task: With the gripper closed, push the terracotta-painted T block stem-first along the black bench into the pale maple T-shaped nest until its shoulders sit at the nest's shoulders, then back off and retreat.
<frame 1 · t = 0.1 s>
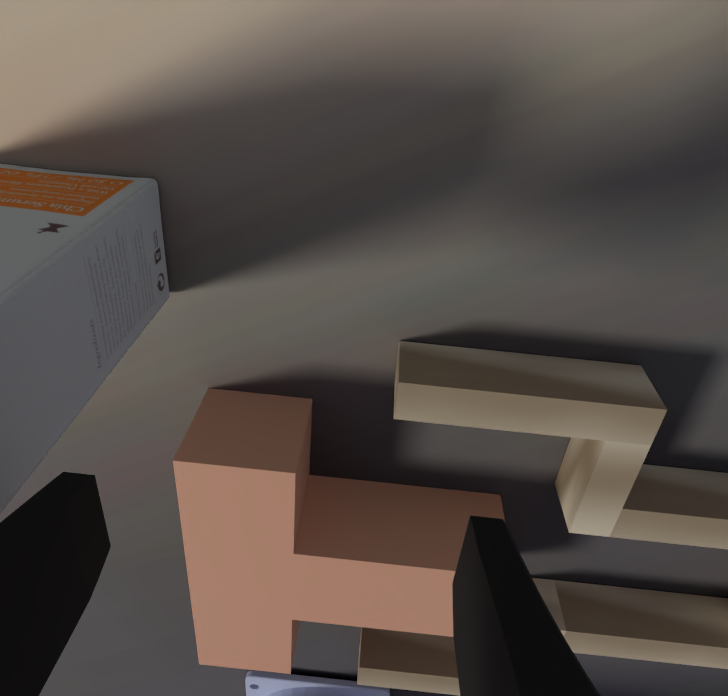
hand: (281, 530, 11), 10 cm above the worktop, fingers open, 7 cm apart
skincare box: (78, 226, 19), on the worktop
tee: (262, 502, 26), on the worktop
nest: (537, 532, 25), on the worktop
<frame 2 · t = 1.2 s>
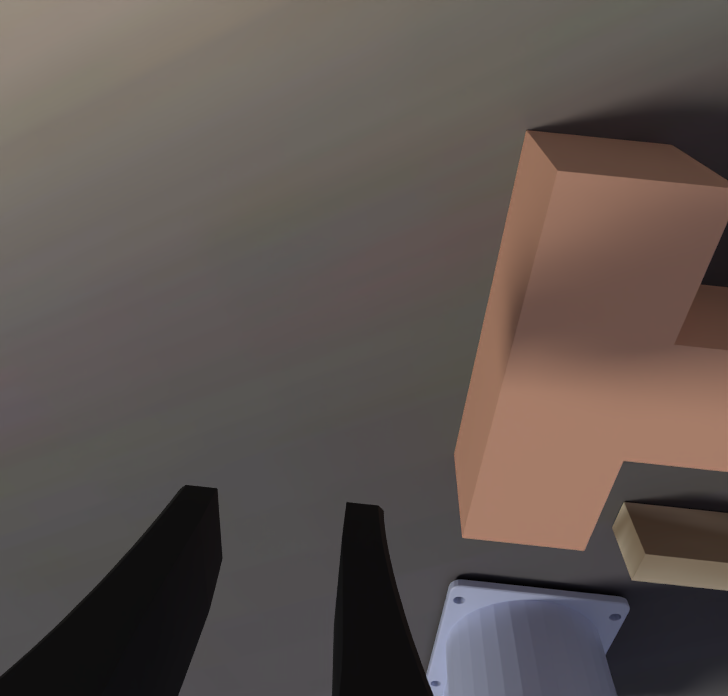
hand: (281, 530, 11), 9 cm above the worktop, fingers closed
tee: (544, 325, 19), on the worktop
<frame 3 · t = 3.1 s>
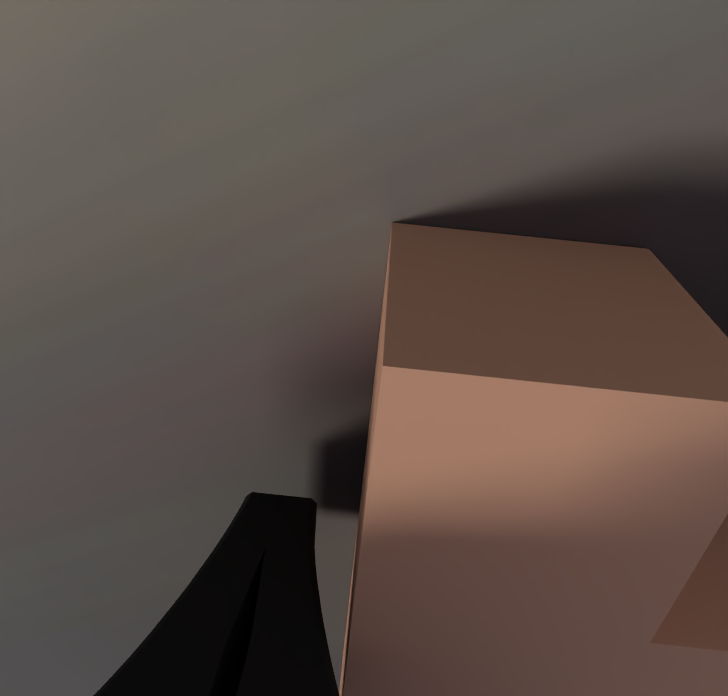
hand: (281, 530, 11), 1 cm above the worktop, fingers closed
tee: (455, 504, 12), on the worktop
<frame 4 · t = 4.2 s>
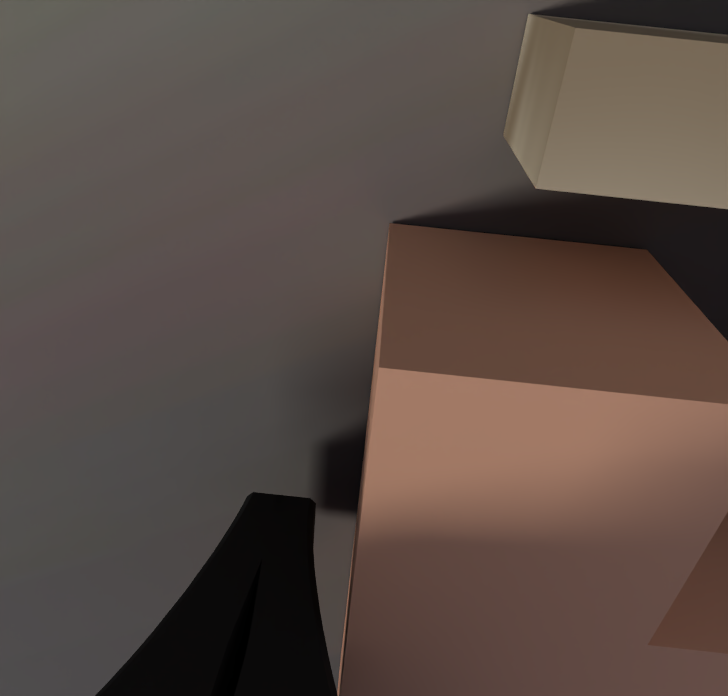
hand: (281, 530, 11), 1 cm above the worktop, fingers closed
tee: (453, 505, 12), on the worktop, touching gripper
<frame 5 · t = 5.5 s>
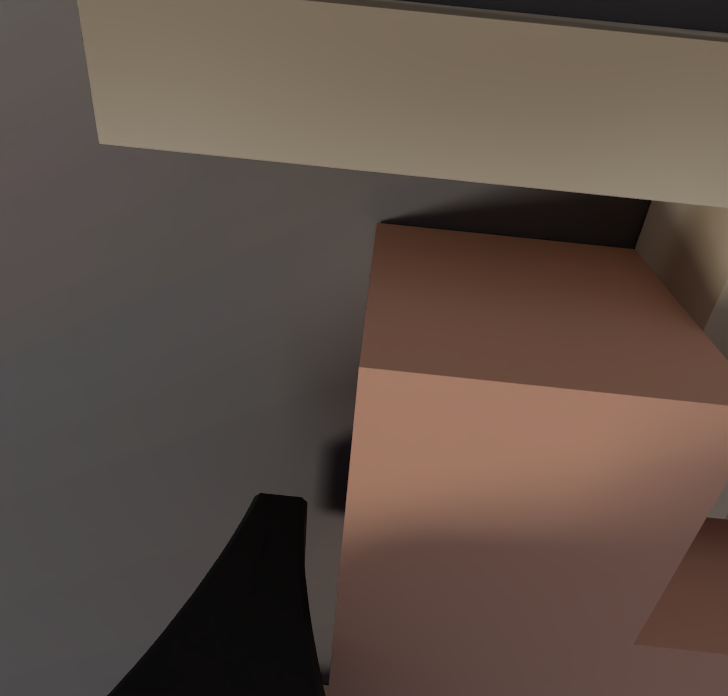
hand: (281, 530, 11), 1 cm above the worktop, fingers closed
tee: (444, 505, 12), on the worktop, touching gripper, nest
nest: (539, 516, 12), on the worktop
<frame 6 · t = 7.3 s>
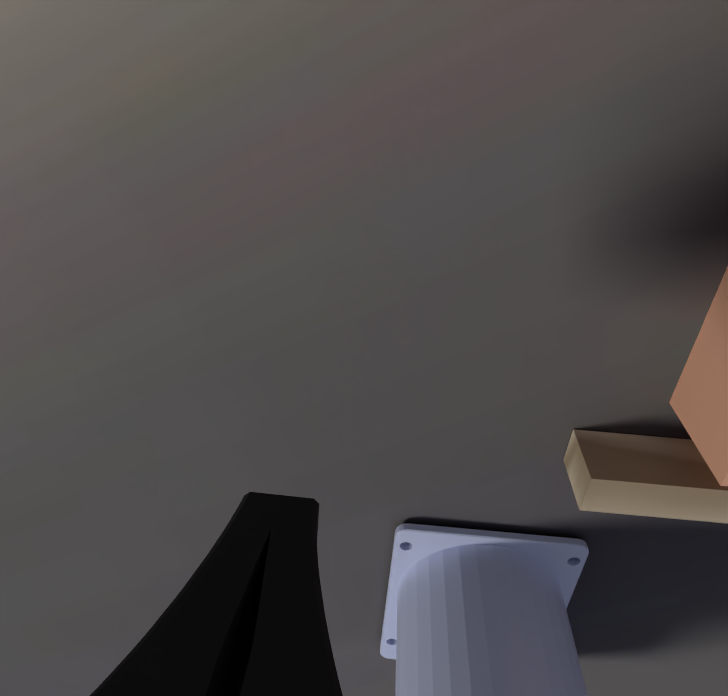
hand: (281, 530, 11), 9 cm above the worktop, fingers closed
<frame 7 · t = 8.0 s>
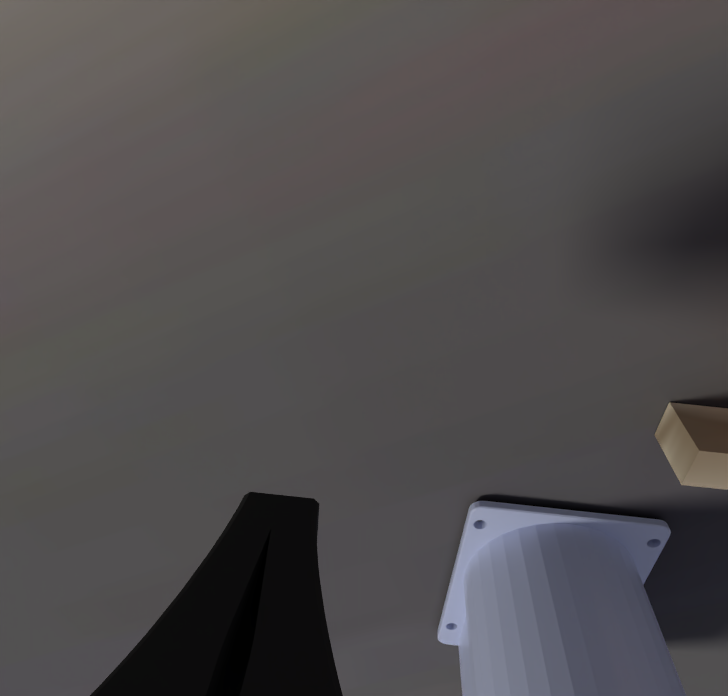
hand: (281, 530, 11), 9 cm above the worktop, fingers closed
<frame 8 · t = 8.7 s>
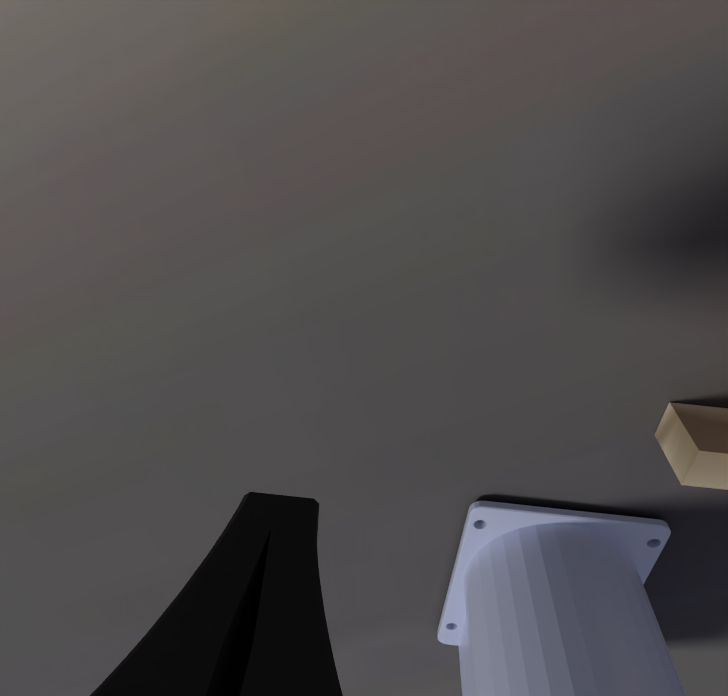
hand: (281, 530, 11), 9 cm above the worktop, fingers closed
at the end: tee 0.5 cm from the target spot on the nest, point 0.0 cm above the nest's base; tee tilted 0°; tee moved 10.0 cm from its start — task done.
